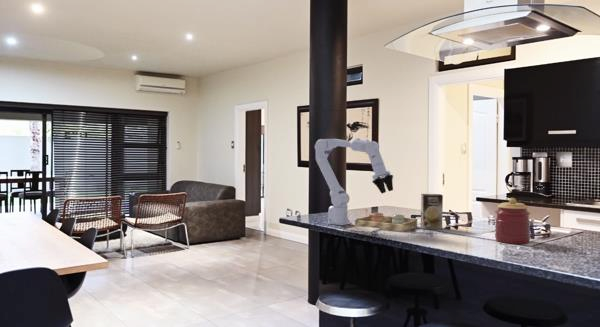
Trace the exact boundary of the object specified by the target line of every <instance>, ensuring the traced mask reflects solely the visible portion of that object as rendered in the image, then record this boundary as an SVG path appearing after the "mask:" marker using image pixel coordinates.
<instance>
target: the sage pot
mask: <svg viewBox="0 0 600 327" xmlns="http://www.w3.org/2000/svg"><path fill="white" fill-rule="evenodd" d="M391 218H392V224H401V225H402V223H403V218H405V215H403V214H391Z"/></svg>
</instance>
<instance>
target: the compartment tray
mask: <svg viewBox="0 0 600 327" xmlns="http://www.w3.org/2000/svg"><path fill="white" fill-rule="evenodd" d="M356 226H363V227H372V228H380V230H383V231H384V230H385V231H393V232H407V231H409V230H413V229H415V228H417V227H418V218H414V217H404V218H403V223H402V225H401V224H392V218H391V216H390V215H383V216H382V223H381V222H372V216H371V213H370V214H369V215H367V216H362V217H359V218H356V219H355V220H354V227H356Z"/></svg>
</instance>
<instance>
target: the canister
mask: <svg viewBox="0 0 600 327" xmlns="http://www.w3.org/2000/svg"><path fill="white" fill-rule="evenodd" d="M528 208H529V206H528V205H526V204H525V203H523V202H522V203H521V202H517V199H516V198H514V197H510V198H509V200H508V202H506V201H505V202H501V203H500V204H498V205H497V209H496V210H495V211H494V212H495V214H496V218H495V219H494V220H495V233H494V238H495V241H497V242H499V243H504V244H511V245H524V244H529V243H530V240H531V234H530V233H531V232H530V231H531V220H530V215H531V212H530V211H529V210H528Z"/></svg>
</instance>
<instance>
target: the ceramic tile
mask: <svg viewBox="0 0 600 327" xmlns="http://www.w3.org/2000/svg"><path fill="white" fill-rule="evenodd" d="M347 230H348V231H355V232H361V231H364V233H370V232H371V233H374V232H377V231H380V230H381V229H380V228H372V227H363V226H352V227H348V228H347ZM373 231H374V232H373Z"/></svg>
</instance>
